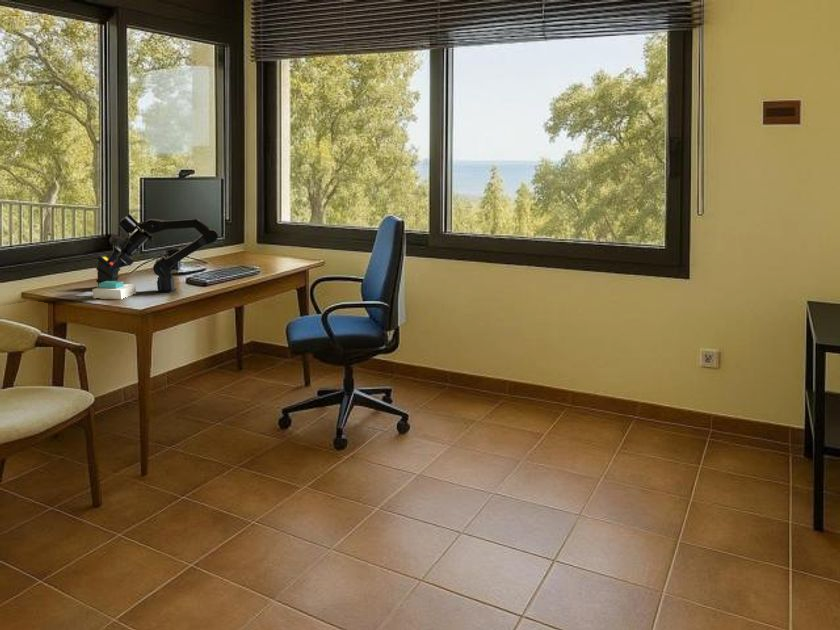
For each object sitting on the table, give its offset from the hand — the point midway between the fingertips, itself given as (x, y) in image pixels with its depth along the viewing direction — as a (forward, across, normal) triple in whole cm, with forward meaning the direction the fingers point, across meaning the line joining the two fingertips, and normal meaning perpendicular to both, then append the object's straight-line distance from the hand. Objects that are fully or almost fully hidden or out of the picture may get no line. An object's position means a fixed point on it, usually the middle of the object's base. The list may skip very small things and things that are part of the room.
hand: (109, 266), depth 324 cm
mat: (+15, 0, +4) cm, 15 cm away
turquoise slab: (+5, +6, +5) cm, 10 cm away
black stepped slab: (+10, -12, +12) cm, 20 cm away
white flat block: (+7, +7, +9) cm, 13 cm away
